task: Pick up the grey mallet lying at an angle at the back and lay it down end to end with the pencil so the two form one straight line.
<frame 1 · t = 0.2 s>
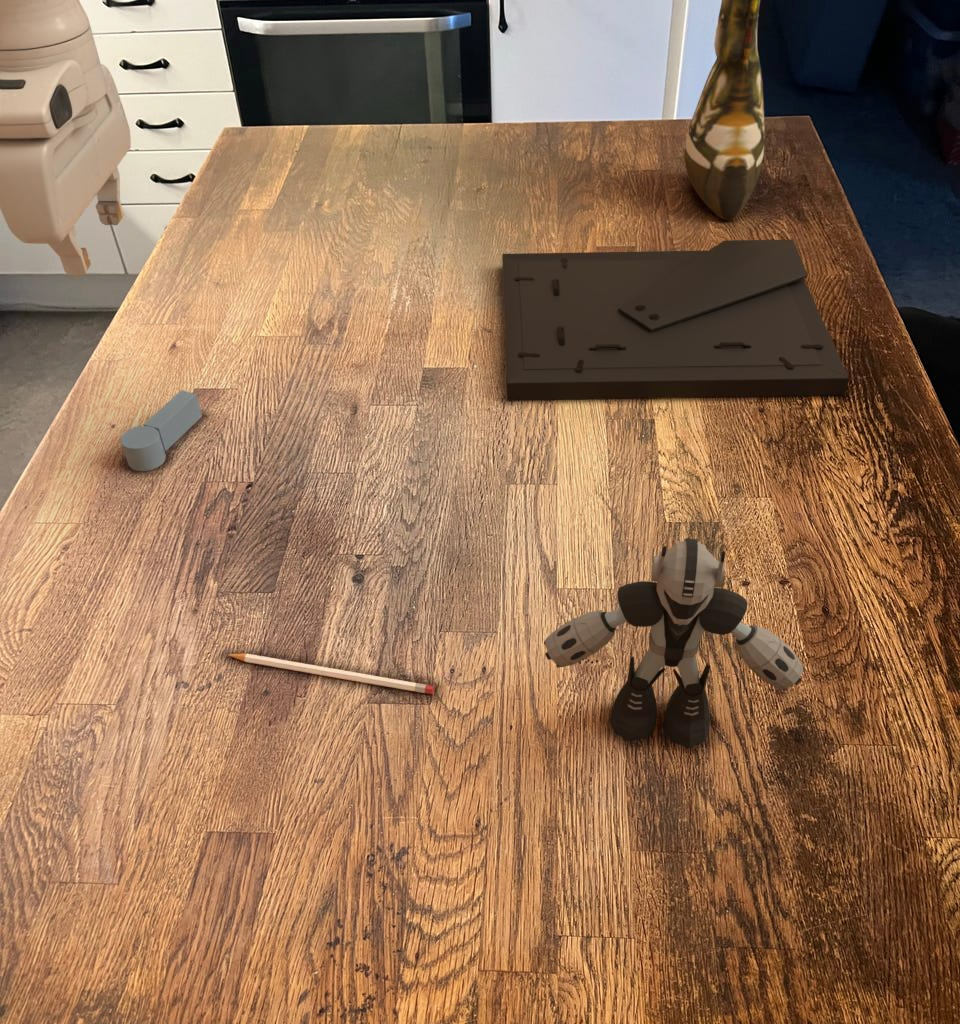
hand: (96, 245, 87), 24 cm above the kitchen island, tool pointing down, fingers open, 8 cm apart
pencil: (329, 676, 86), on the kitchen island
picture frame: (658, 329, 123), on the kitchen island
robot: (658, 723, 82), on the kitchen island
grey mallet: (168, 439, 109), on the kitchen island
statue: (716, 199, 148), on the kitchen island
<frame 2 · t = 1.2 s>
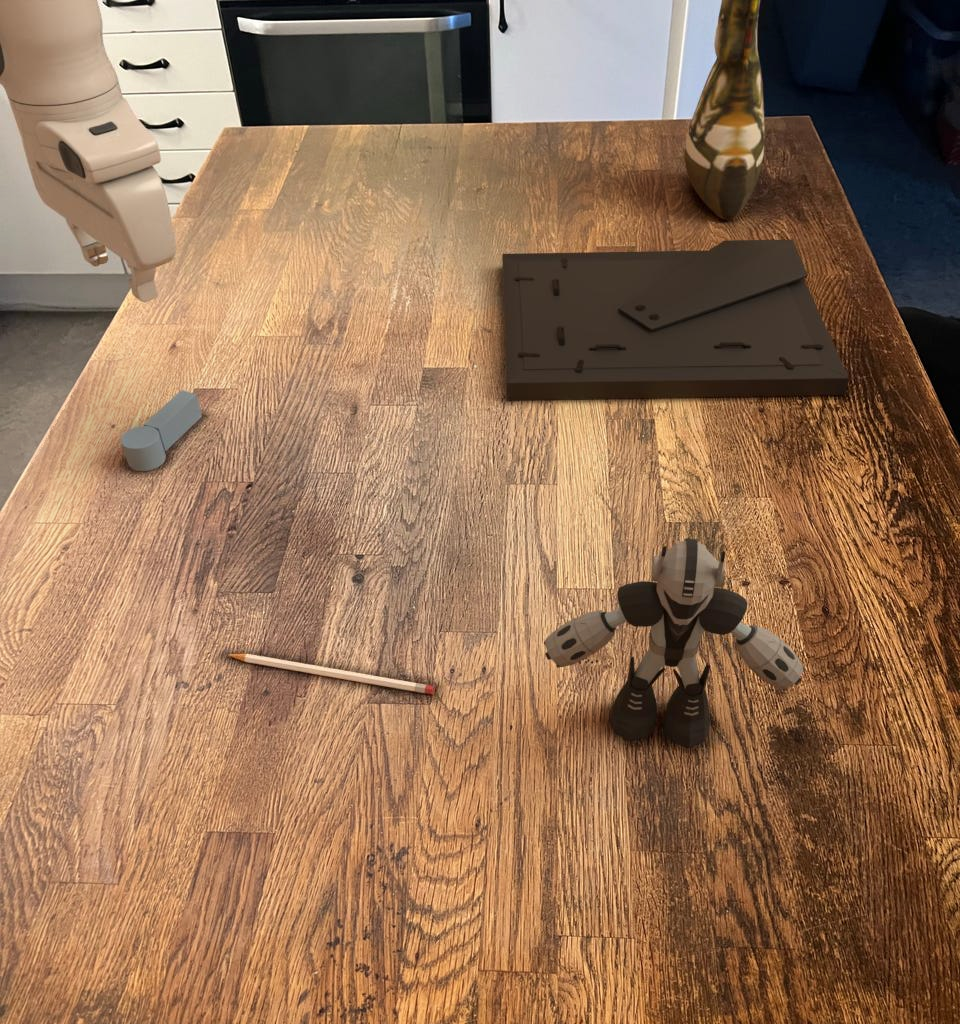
hand: (121, 279, 93), 19 cm above the kitchen island, tool pointing down, fingers open, 8 cm apart
nothing on the kitchen island moved.
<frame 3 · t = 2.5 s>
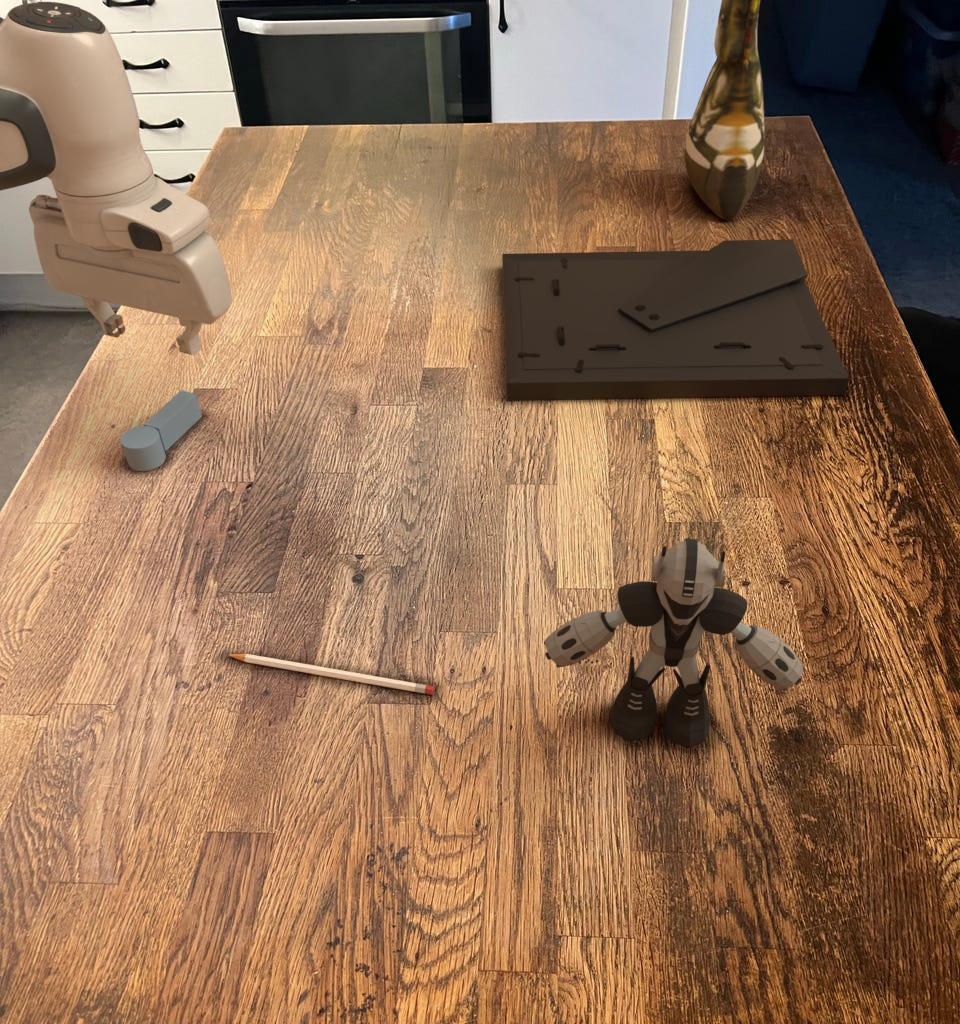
hand: (153, 342, 102), 11 cm above the kitchen island, tool pointing down, fingers open, 8 cm apart
nothing on the kitchen island moved.
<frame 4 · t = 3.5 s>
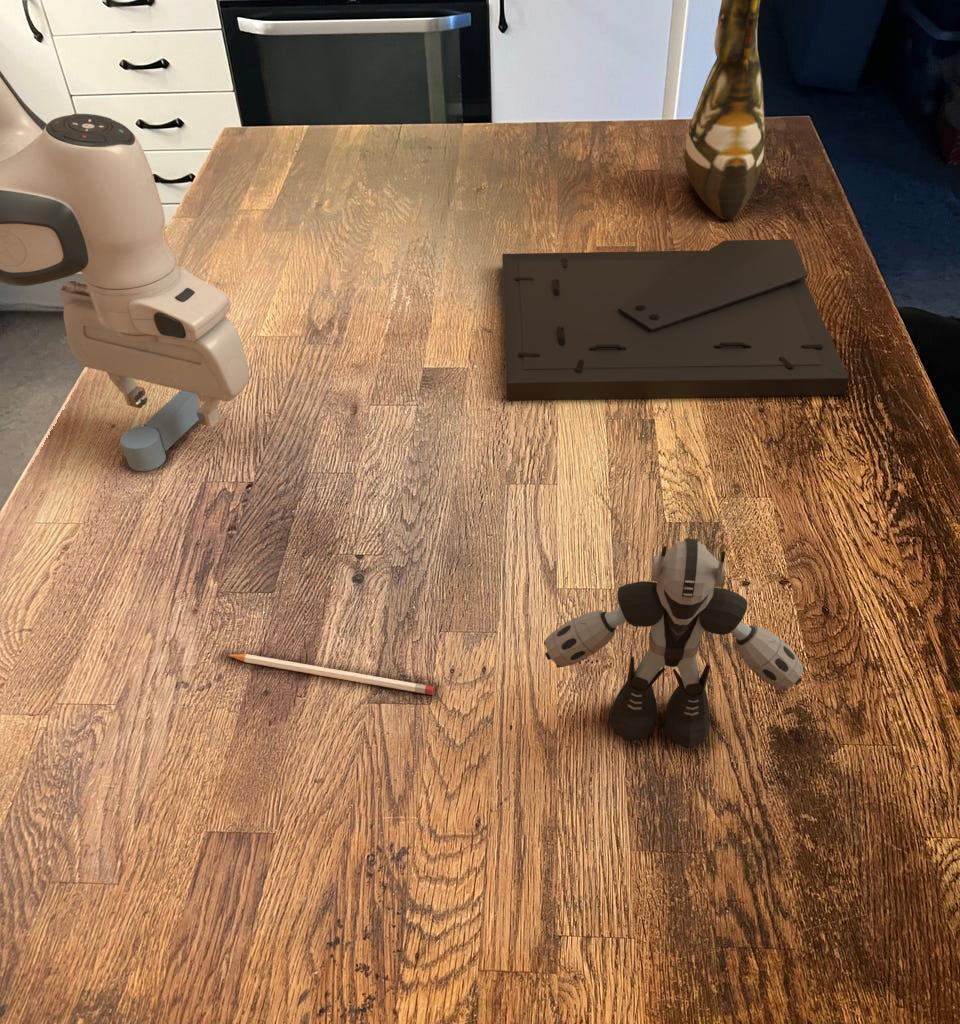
hand: (173, 413, 108), 2 cm above the kitchen island, tool pointing down, fingers open, 8 cm apart
nothing on the kitchen island moved.
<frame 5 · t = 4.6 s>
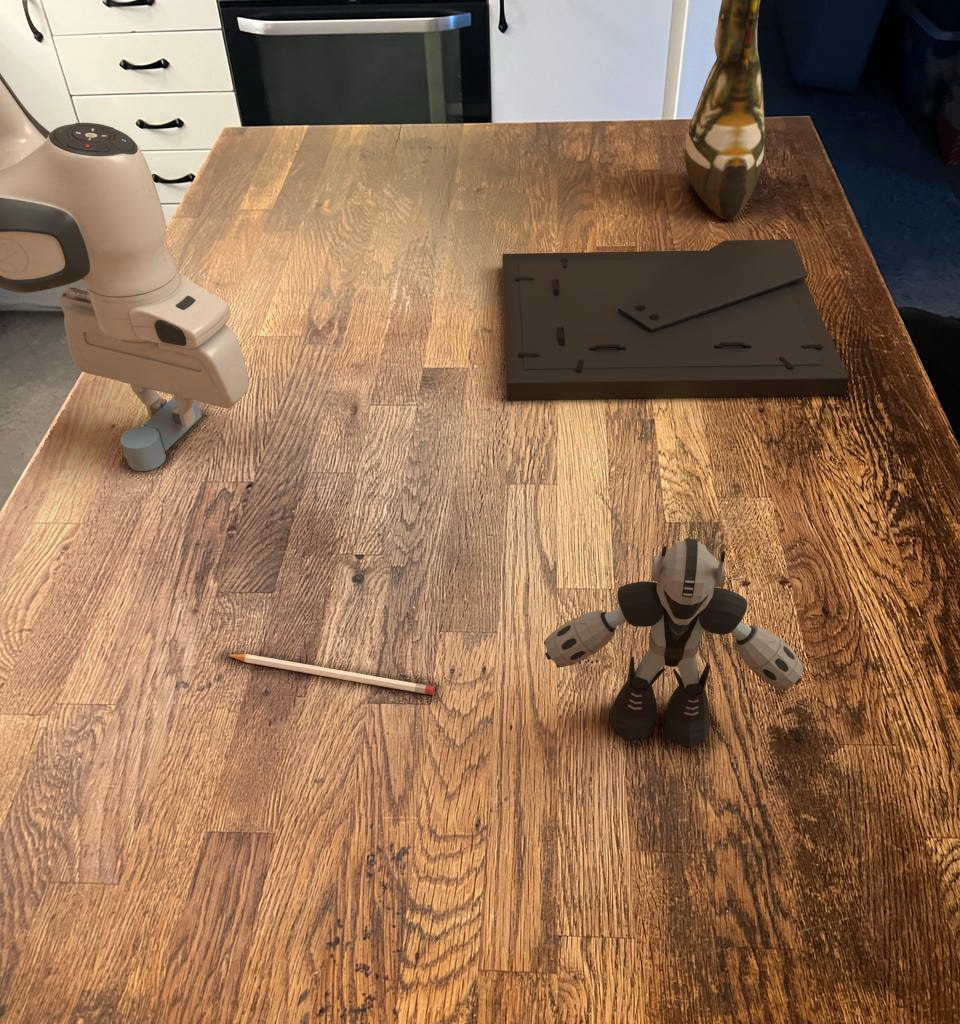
hand: (173, 419, 109), 2 cm above the kitchen island, tool pointing down, fingers closed on grey mallet, 2 cm apart
grey mallet: (168, 439, 109), on the kitchen island, touching gripper
everything else where it was.
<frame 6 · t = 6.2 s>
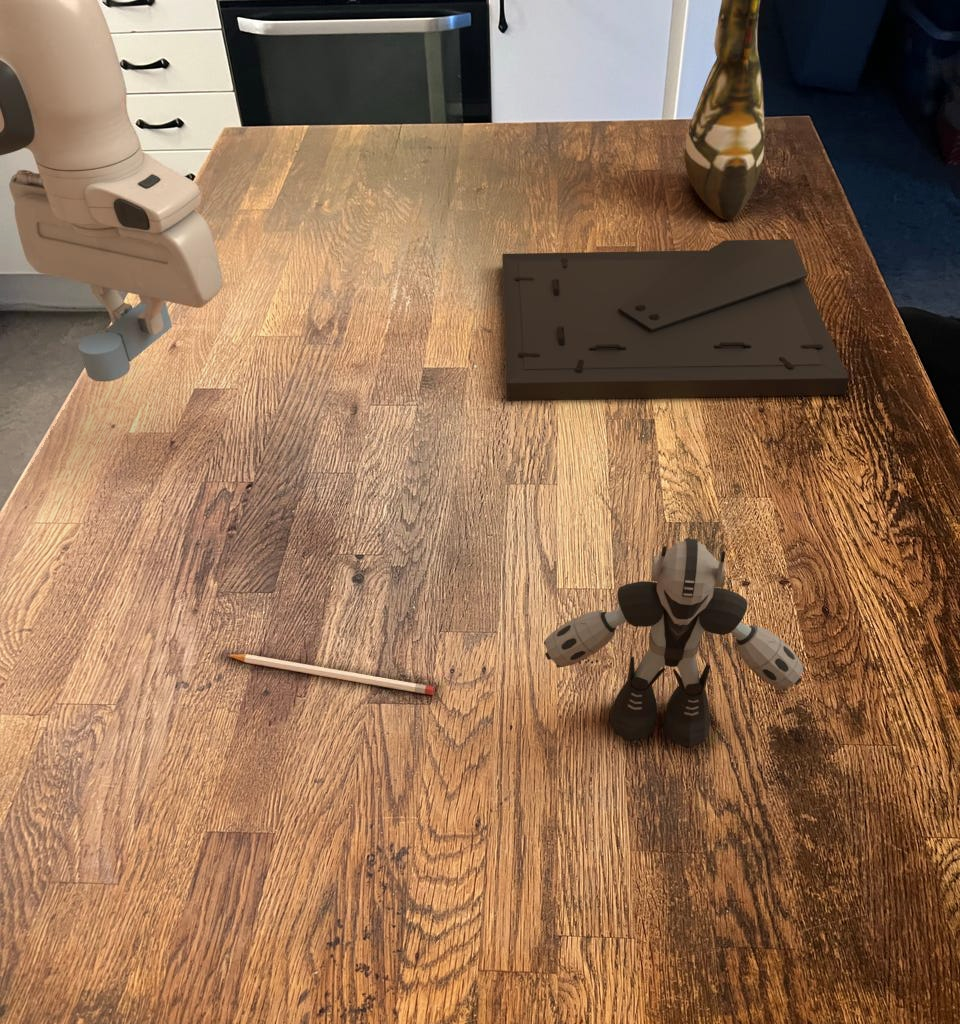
hand: (139, 327, 97), 14 cm above the kitchen island, tool pointing down, fingers closed on grey mallet
grey mallet: (134, 349, 98), point 13 cm above the kitchen island, touching gripper
everything else where it was.
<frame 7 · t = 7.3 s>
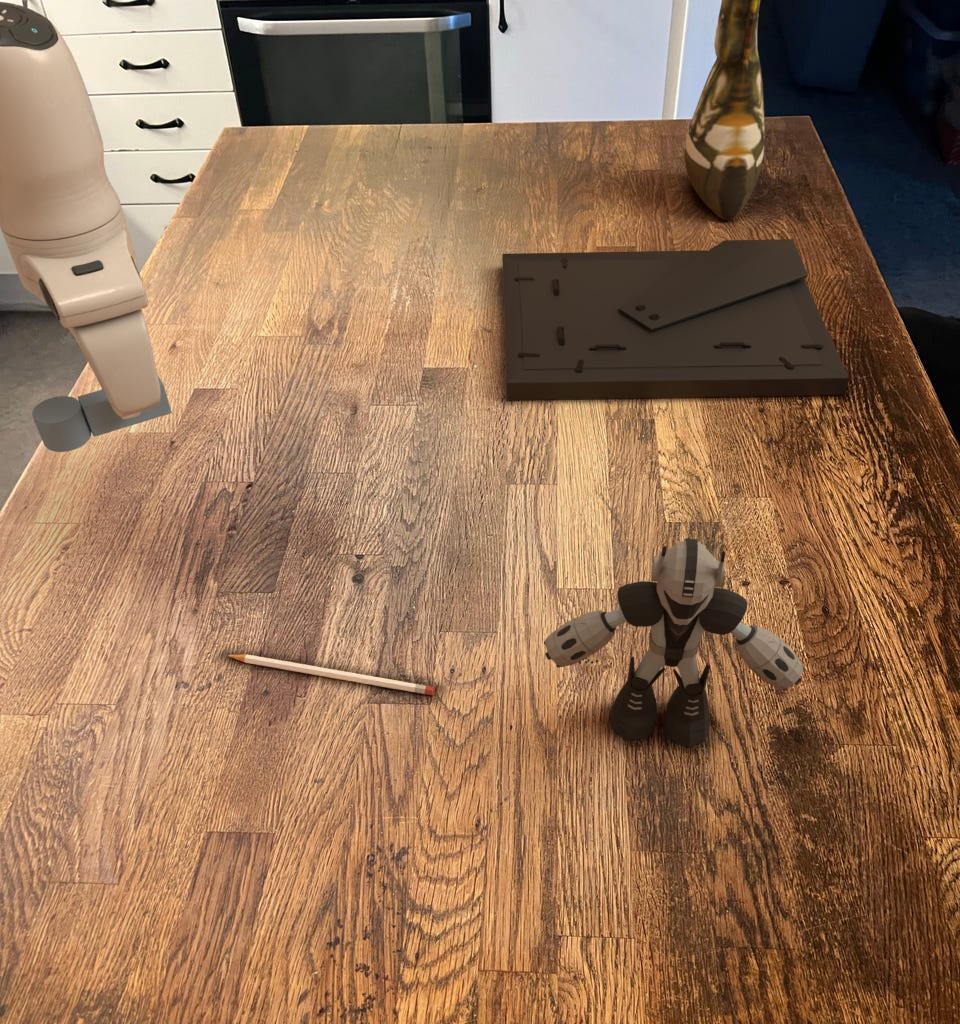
hand: (124, 404, 87), 15 cm above the kitchen island, tool pointing down, fingers closed on grey mallet
grey mallet: (113, 424, 87), point 14 cm above the kitchen island, touching gripper
everything else where it was.
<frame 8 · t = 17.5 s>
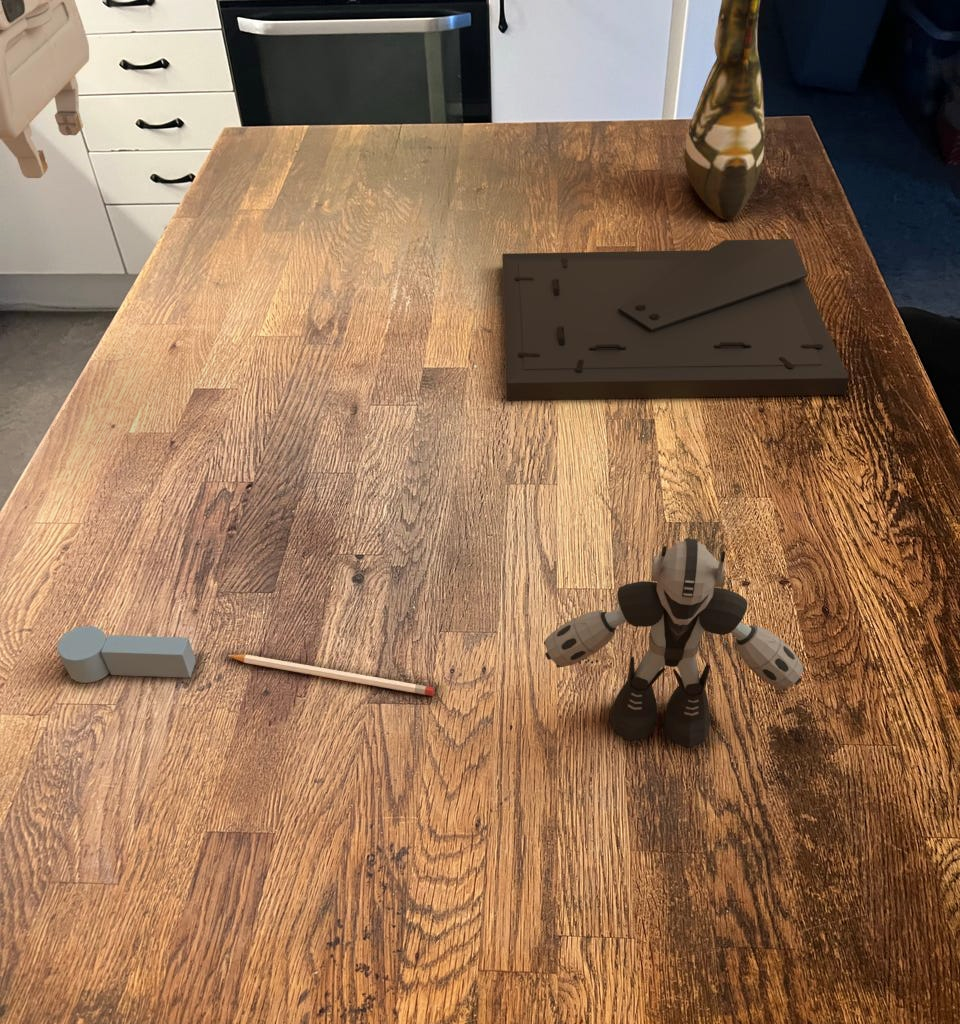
hand: (55, 153, 90), 29 cm above the kitchen island, tool pointing down, fingers open, 8 cm apart
grey mallet: (137, 667, 86), on the kitchen island
everything else where it was.
at the end: grey mallet 0.5 cm from the target spot on the kitchen island beside the pencil, on the kitchen island; the gripper is holding nothing; pencil moved 0.4 cm from its start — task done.
